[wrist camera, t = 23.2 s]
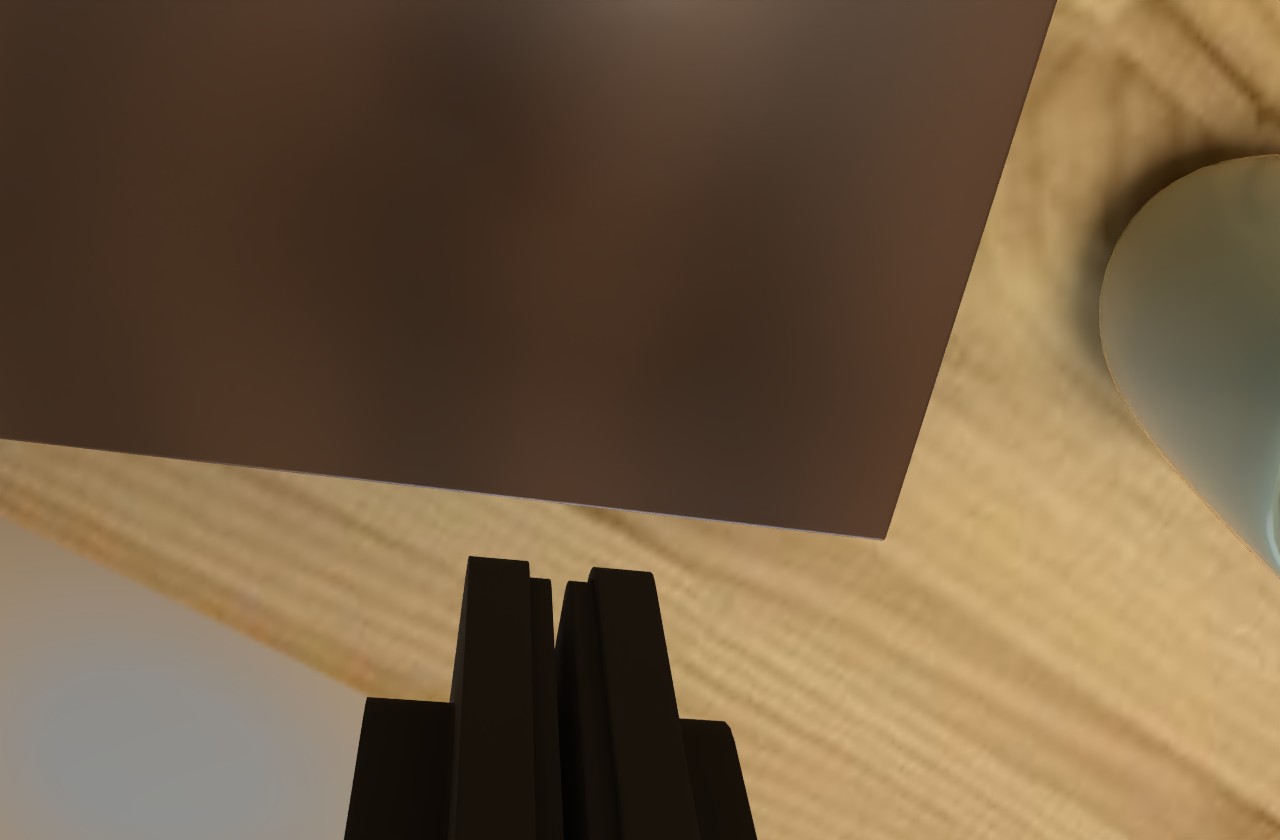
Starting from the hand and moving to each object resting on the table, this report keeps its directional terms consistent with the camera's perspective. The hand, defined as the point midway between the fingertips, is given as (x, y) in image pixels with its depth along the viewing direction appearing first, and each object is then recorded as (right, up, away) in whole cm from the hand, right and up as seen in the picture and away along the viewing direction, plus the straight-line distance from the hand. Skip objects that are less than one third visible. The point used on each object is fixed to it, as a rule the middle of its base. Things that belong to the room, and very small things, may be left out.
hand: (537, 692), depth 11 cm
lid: (-2, +7, +8) cm, 11 cm away
